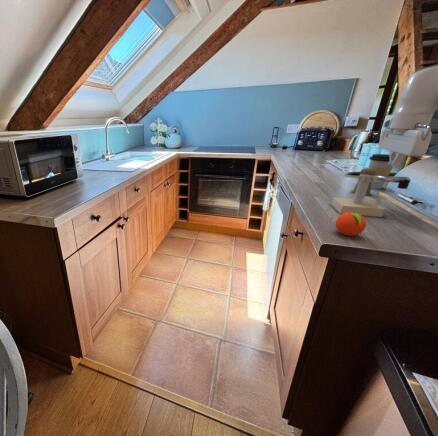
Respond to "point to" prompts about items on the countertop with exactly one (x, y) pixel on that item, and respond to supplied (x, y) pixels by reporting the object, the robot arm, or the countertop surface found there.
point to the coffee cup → (380, 168)
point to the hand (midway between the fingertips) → (393, 165)
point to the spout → (386, 180)
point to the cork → (373, 173)
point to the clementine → (350, 223)
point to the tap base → (358, 203)
